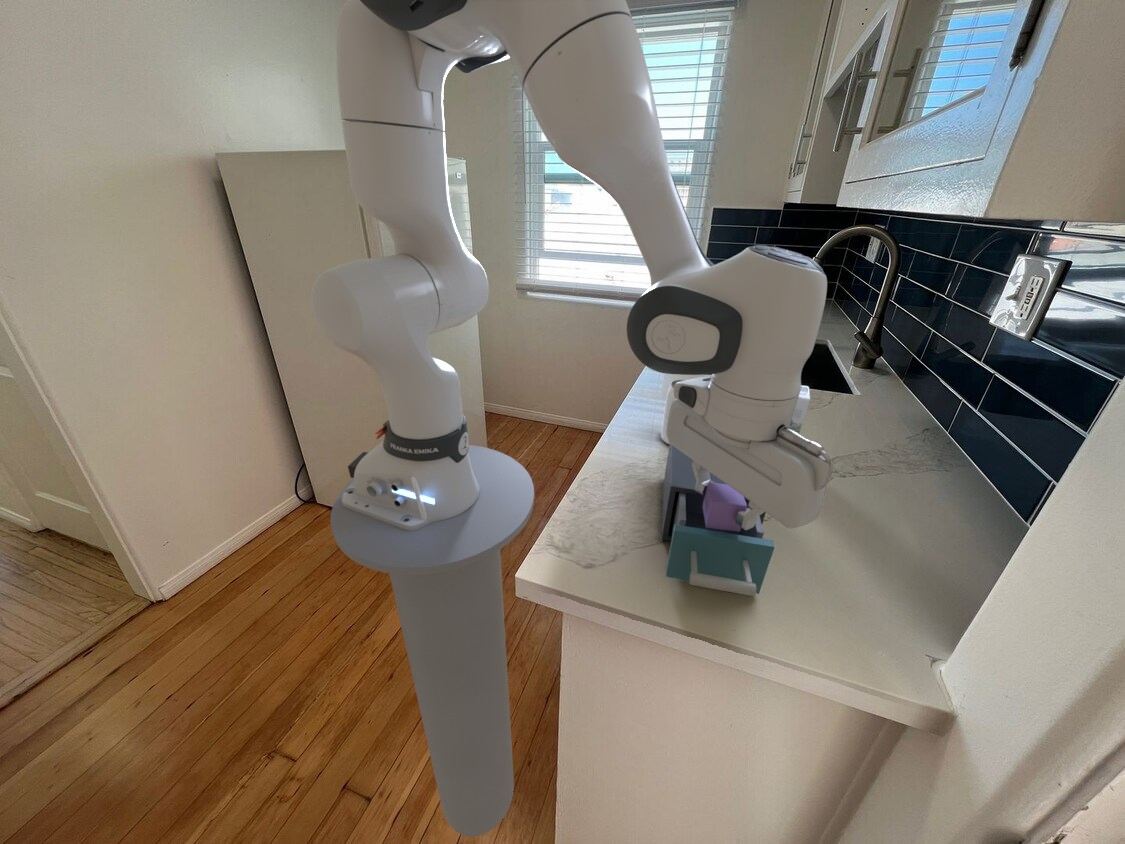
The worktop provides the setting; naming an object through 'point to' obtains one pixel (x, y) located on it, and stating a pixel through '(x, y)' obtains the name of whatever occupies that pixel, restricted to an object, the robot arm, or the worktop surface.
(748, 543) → the drawer
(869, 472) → the worktop surface
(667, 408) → the can
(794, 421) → the syrup box
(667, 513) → the cabinet
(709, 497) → the purple cube
